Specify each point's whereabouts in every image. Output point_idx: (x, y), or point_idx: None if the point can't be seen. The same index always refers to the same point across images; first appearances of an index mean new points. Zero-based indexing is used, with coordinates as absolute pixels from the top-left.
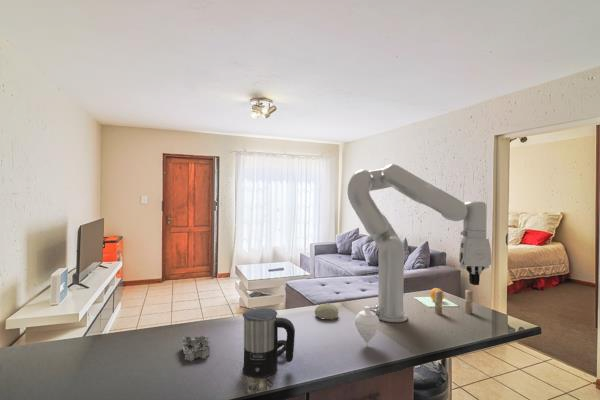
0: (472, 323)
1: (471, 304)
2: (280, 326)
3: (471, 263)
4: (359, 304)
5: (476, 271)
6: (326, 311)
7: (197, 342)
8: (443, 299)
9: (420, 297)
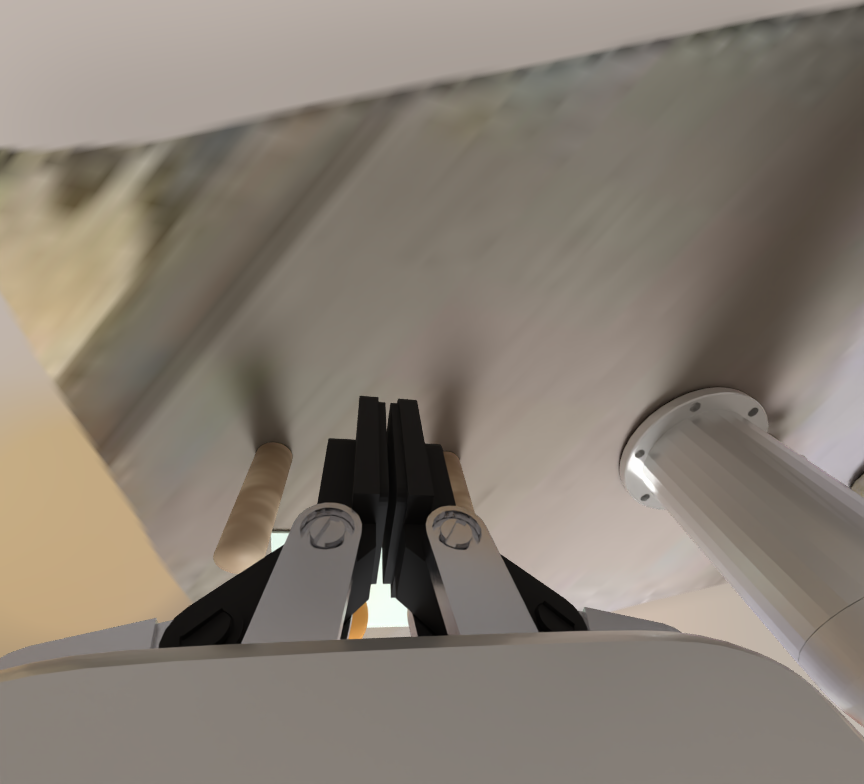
0: (367, 321)
1: (256, 477)
2: None
3: (728, 717)
4: (679, 568)
5: (358, 573)
6: None
7: None
8: None
9: (383, 622)
